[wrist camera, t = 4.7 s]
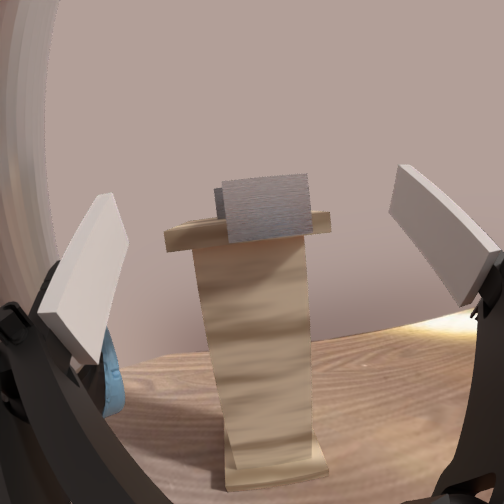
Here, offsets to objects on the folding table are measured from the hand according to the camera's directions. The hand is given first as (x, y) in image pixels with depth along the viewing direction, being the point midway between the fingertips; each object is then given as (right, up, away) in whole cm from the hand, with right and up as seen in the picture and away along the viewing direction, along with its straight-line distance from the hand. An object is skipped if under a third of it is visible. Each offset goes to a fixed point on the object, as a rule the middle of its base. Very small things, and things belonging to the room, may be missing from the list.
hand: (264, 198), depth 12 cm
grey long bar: (-1, 0, +9) cm, 9 cm away
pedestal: (+2, -28, +20) cm, 35 cm away
